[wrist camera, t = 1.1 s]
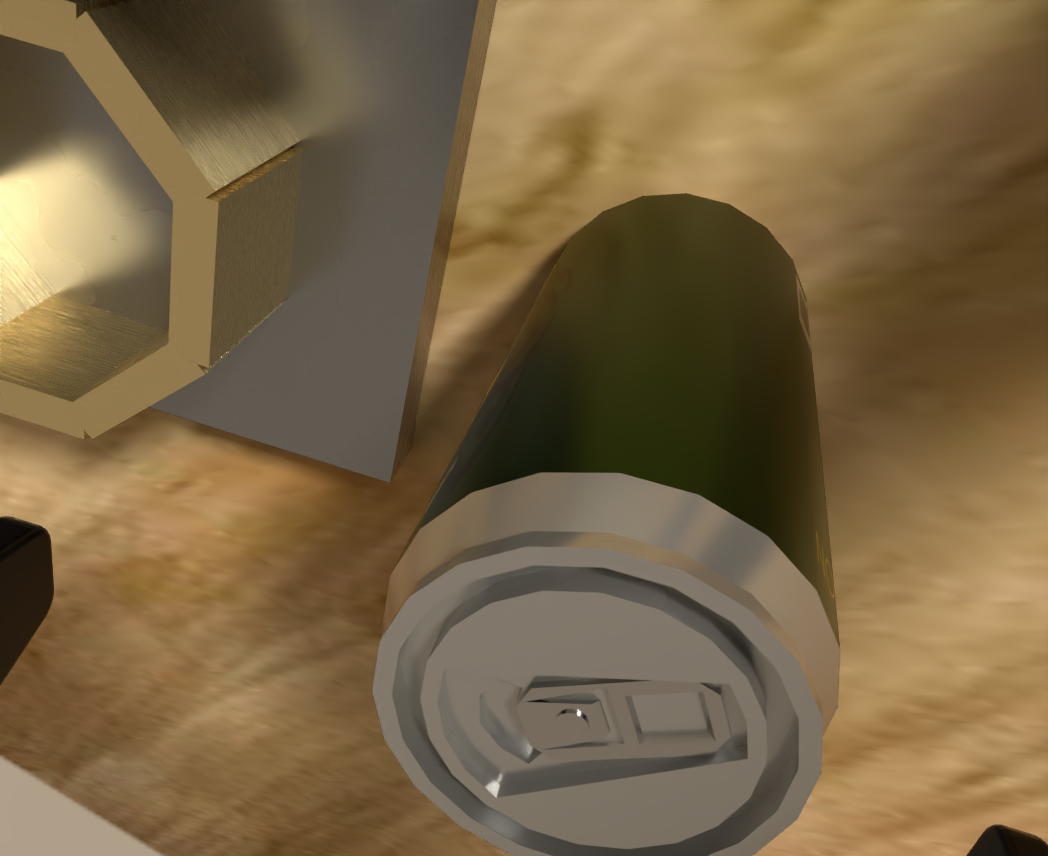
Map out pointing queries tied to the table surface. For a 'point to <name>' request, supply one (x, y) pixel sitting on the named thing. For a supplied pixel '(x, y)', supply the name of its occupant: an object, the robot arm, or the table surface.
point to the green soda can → (628, 559)
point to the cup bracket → (231, 213)
